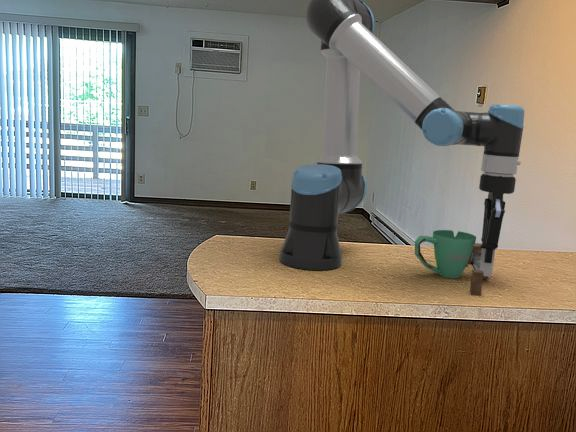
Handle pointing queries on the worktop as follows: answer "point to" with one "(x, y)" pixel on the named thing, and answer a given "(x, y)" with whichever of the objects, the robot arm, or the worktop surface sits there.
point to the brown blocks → (476, 273)
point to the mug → (448, 251)
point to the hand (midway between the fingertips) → (485, 275)
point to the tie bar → (477, 262)
